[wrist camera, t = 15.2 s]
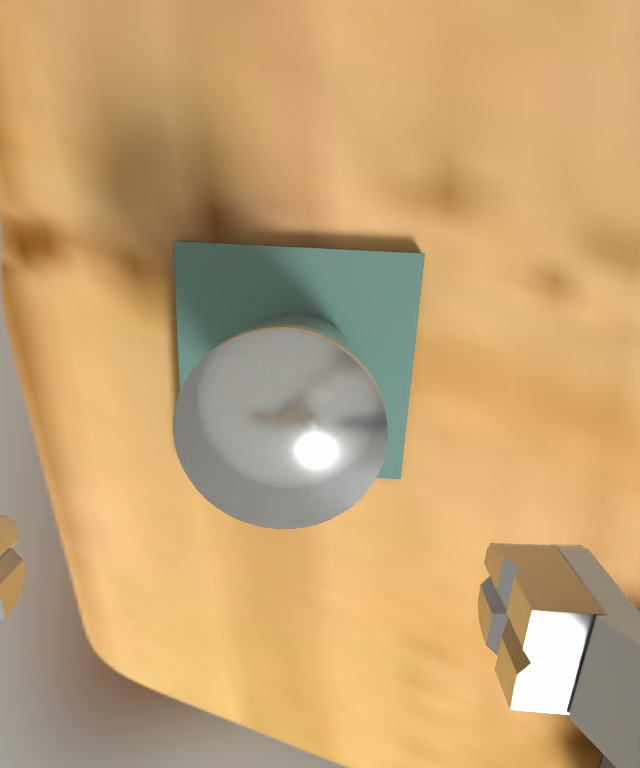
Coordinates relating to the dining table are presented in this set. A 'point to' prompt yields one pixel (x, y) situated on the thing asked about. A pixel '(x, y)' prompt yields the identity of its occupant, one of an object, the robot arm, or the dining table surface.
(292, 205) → the dining table surface
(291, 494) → the end cover
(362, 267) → the mat
